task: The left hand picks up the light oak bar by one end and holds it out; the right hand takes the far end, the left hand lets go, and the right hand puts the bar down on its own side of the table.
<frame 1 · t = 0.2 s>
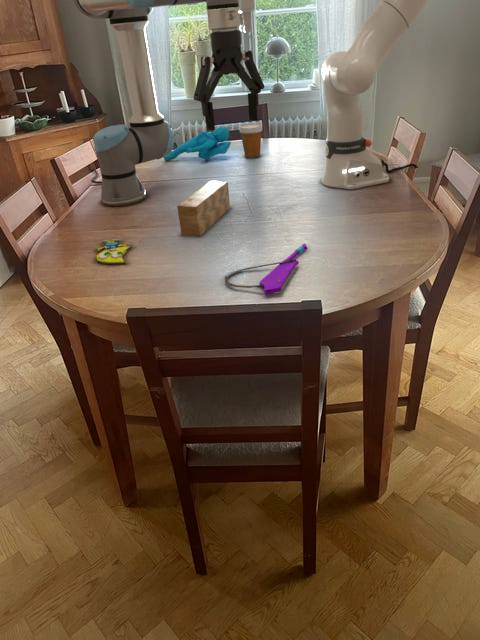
left hand: (232, 124, 126), 27 cm above the table, tool pointing down, fingers open, 13 cm apart
right hand: (245, 31, 136), 47 cm above the table, tool pointing down, fingers open, 8 cm apart
glass of beer: (252, 156, 202), on the table
bar: (207, 220, 144), on the table
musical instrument: (268, 271, 113), on the table
toy 2: (112, 253, 129), on the table
toy: (197, 159, 205), on the table
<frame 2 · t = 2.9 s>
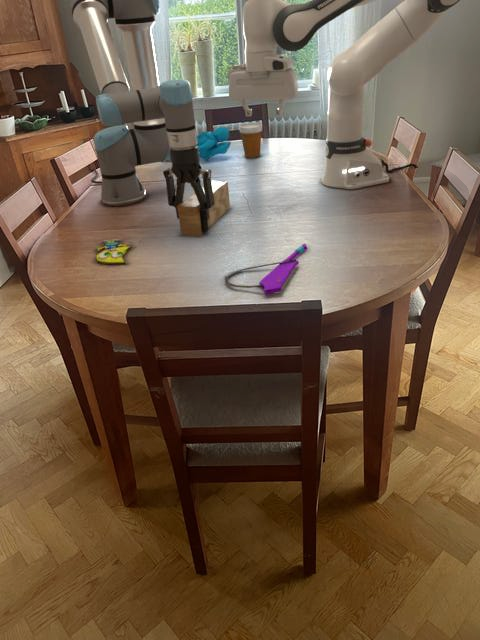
left hand: (194, 230, 137), 0 cm above the table, tool pointing down, fingers closed on bar, 6 cm apart
right hand: (263, 115, 142), 25 cm above the table, tool pointing down, fingers open, 8 cm apart
bar: (207, 220, 144), on the table, touching left hand
everything else where it was.
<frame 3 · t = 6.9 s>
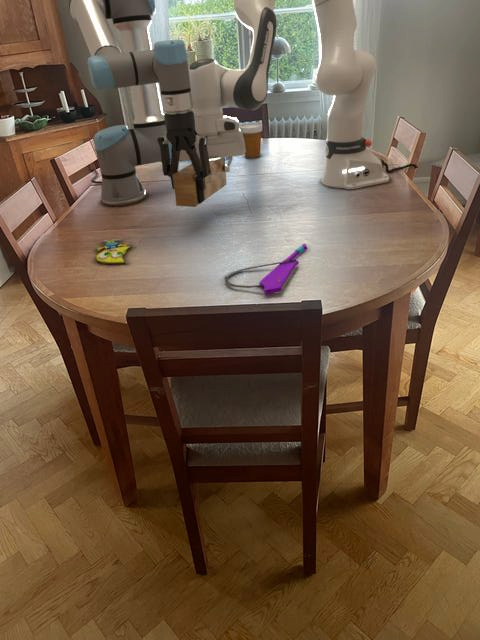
left hand: (190, 201, 132), 9 cm above the table, tool pointing down, fingers closed on bar, 6 cm apart
right hand: (213, 172, 144), 12 cm above the table, tool pointing down, fingers closed on bar, 7 cm apart
bar: (203, 194, 139), point 8 cm above the table, touching right hand, left hand
everything else where it was.
when the left hand's fingers open (9 cm above the table, at t = 8.0 s): bar stays where it is, held by the right hand.
when the right hand's fingers open (4 cm above the table, at t = 13.9 s): bar stays where it is, on the table.
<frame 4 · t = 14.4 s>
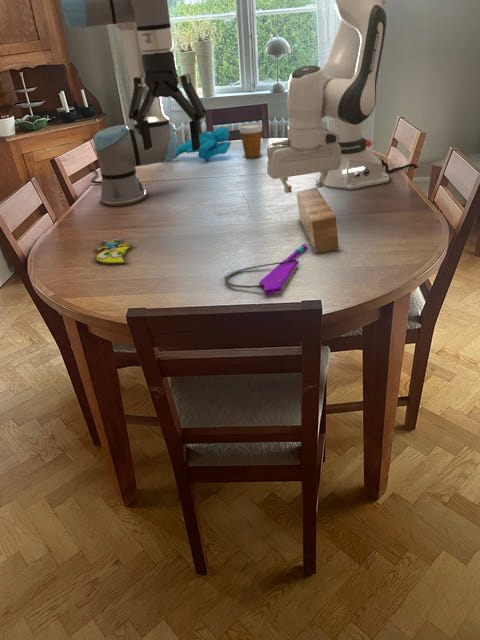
left hand: (172, 149, 120), 24 cm above the table, tool pointing down, fingers open, 13 cm apart
right hand: (303, 189, 132), 9 cm above the table, tool pointing down, fingers open, 8 cm apart
bar: (318, 233, 129), on the table, tilted 7°
everything else where it was.
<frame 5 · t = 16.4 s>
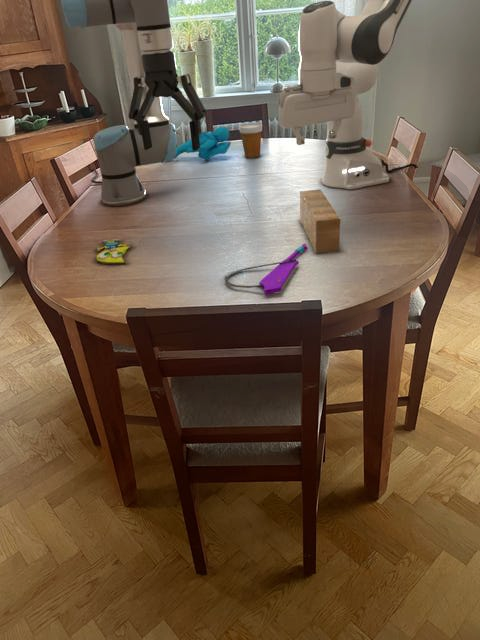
left hand: (172, 149, 120), 24 cm above the table, tool pointing down, fingers open, 13 cm apart
right hand: (316, 141, 124), 22 cm above the table, tool pointing down, fingers open, 8 cm apart
bar: (318, 234, 129), on the table
everything else where it was.
at the end: bar inside the target area (8.3 cm from its centre), on the table; the left hand is holding nothing; the right hand is holding nothing; bar at rest at the end (0.0 cm/s) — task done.
